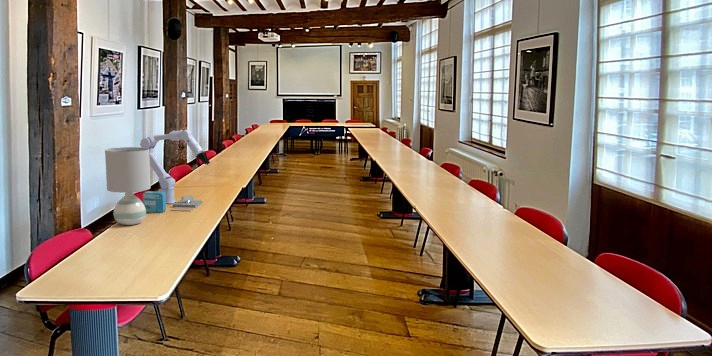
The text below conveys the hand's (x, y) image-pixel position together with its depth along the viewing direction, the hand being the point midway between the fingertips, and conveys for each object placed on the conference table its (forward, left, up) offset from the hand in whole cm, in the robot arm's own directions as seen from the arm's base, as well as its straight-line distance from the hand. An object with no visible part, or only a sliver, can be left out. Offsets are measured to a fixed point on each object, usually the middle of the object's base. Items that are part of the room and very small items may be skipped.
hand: (207, 163), depth 341 cm
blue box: (-25, -25, -27) cm, 44 cm away
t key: (-12, -5, -26) cm, 29 cm away
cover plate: (-12, -5, -26) cm, 29 cm away
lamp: (-27, -53, -27) cm, 65 cm away
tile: (-11, -17, -26) cm, 33 cm away
